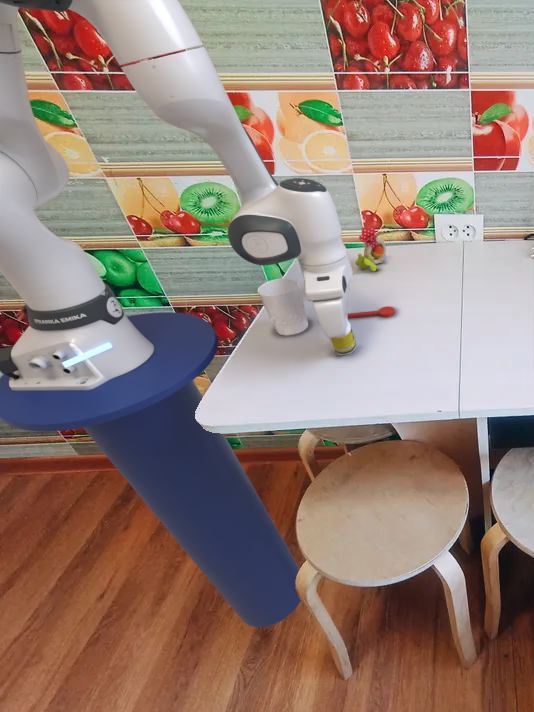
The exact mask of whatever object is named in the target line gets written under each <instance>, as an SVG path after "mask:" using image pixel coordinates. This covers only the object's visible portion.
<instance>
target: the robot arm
mask: <svg viewBox="0 0 534 712" xmlns="http://www.w3.org/2000/svg"><path fill="white" fill-rule="evenodd" d="M20 8H22V9H28V10H29V9H30V10H41V11H49V12H56V13H65V12H67V11H68V10H70V11H72V12H74V13H76V14H78V15H80V16H81V17H83V18H84V19H85V20H86V21H88V22H89V23H90V24H91V25H92V27H94V28H95V30H96V31H97V32H98V34H99V35H100V36H101V38H102V40H103V41H104V42H105V44H106V45H107V47H108V49H109V50H110V52H111V54H112V55H113V58H114V59H115V60H116V62H117V64H118V65H119V66H121V67H120V68H121V69H122V72H123V74H124V75H125V77H126V78H127V80H128V81H129V83H130V84H131V86H132V88H133V89H134V91H135V92H136V93H137V94H138V96H139V98H141V100H142V101H143V102H144V103H145V105H146V106H147V107H148V108H149V109H150V110H151V112H152V113H153V114H154V115H155V116H156V117H157V118H158V119H160V120H162V121H163V122H165V123H167V124H169V125H171V126H173V127H175V128H178V129H181V130H184V131H187V132H190V133H192V134H194V135H195V136H197V137H198V138H200V139H201V140H202V141H204V142H205V143H206V144H207V145H208V146H209V147H210V148H211V150H212V151H213V152H214V153H215V155H216V156H217V158H218V160H219V161H220V163H221V165H222V166H223V168H224V169H225V171H226V172H227V174H228V175H229V177H230V179H231V180H232V182H233V183H234V185H235V187H236V188H237V189H238V192H239V195H240V200H241V201H240V202H241V206H240V208H239V209H238V210H237V211H236V213H235V215H234V216H233V217H232V219H231V221H230V223H229V225H228V226H227V227H228V228H227V240H228V242H229V244H230V246H231V248H232V249H233V251H234V252H235V253H236V254H237V255H238V256H239V257H241V258H242V259H243V260H245V261H246V262H249V263H251V264H253V265H256V266H262V267H263V266H273V265H276V264H281V263H284V262H287V261H291V260H294V259H297V261H298V264H299V267H300V270H301V274H302V278H303V282H304V294H305V296H306V300H307V301H309V302H312V307H313V310H314V313H315V315H316V318H317V320H318V323H319V326H320V327H321V330H322V332H323V334H324V335H325V337H327V338H328V339H329V338H336V337H343V336H345V335H346V330H347V322H346V317H347V320H348V321H349V318H348V314H349V309H350V308H349V307H350V295H351V285H350V281H351V280H352V279H353V278H354V271H353V267H352V264H351V260H350V255H349V252H348V249H347V247H346V245H345V244H344V241H343V237H342V235H343V234H342V233H343V229H342V225H341V220H340V218H339V215H338V212H337V209H336V208H337V207H336V205H335V203H334V200H333V198H332V195H331V193H330V192H329V190H328V189H327V187H326V186H325V185H323V184H322V183H320V182H318V181H316V180H314V179H309V178H304V177H303V178H302V177H293V178H287V179H284V180H281V181H280V182H279V183H278V181H277V180H276V179H275V178H274V176H273V174H272V173H271V171H270V169H269V168H268V166H267V164H266V163H265V161H264V159H263V158H262V156H261V154H260V151H259V150H258V149H257V147H256V145H255V143H254V142H253V139H252V138H251V136H250V135H249V133H248V131H247V130H246V128H245V126H244V125H243V123H242V121H241V118H240V117H239V116H238V114H237V112H236V109H235V108H234V106H233V103H232V101H231V99H230V97H229V95H228V93H227V91H226V89H225V87H224V84H223V82H222V80H221V78H220V76H219V73H218V72H217V70H216V66H215V65H214V63H213V61H212V58H211V57H210V55H209V53H208V51H207V49H206V47H205V46H204V43H203V42H202V41H203V40H202V39H201V38H200V36H199V34H198V32H197V30H196V28H195V26H194V25H193V23H192V21H191V20H190V18H189V16H188V15H187V13H186V11H185V10H184V8H183V6H182V5H181V3H180V1H179V0H0V274H2V275H3V276H4V278H5V279H6V280H7V281H8V283H9V284H10V285H11V286H12V288H13V289H14V290H15V291H16V293H17V295H18V296H19V297H20V298H21V299H22V300H23V302H24V303H25V304H24V305H23V306H22V307H21V310H19V311H18V312H17V313H16V314H14V317H18V319H17V321H22V320H23V319H24V318H25V317H27V320H28V325H29V326H28V327H26V329H25V330H24V332H23V333H22V335H21V336H20V337H19V338H18V339H17V341H16V342H15V344H14V345H13V346H9V347H3V348H0V372H1V374H2V375H3V374H5V375H7V376H9V377H11V378H10V380H9V386H10V388H11V389H12V390H13V391H47V390H91V389H94V388H96V387H98V386H100V385H101V384H103V383H105V382H106V381H108V380H110V379H113V378H115V377H118V376H120V375H123V374H125V373H127V372H129V371H131V370H133V369H135V368H137V367H138V366H140V365H141V364H143V363H144V362H145V361H147V360H148V359H149V358H150V356H151V355H152V354H153V352H154V345H153V344H152V343H151V342H150V341H149V340H147V339H146V338H145V337H144V336H143V335H142V334H141V333H140V332H139V331H138V330H137V329H136V328H135V326H134V325H133V324H132V323H131V322H130V320H129V319H128V318H127V315H126V314H125V312H124V310H123V306H122V305H121V303H120V301H119V300H118V298H117V296H116V294H115V293H114V292H113V290H112V288H111V287H110V286H109V284H107V283H106V282H104V281H103V280H102V277H101V276H100V275H99V273H98V271H97V270H96V267H95V266H94V265H93V263H92V261H91V260H90V259H89V256H88V255H87V253H86V252H85V250H84V249H83V248H82V246H80V245H79V243H77V242H75V241H74V240H71V239H69V238H66V237H62V236H58V235H56V234H55V233H53V232H52V231H51V230H50V229H49V228H48V227H47V226H45V224H43V222H42V221H41V220H40V219H39V218H38V216H37V214H36V212H35V211H36V210H38V209H40V208H42V207H43V206H45V205H47V204H48V203H51V202H53V201H54V200H56V199H57V197H58V196H59V195H60V194H61V193H62V191H63V190H64V189H65V187H66V186H67V185H68V183H69V181H70V176H71V175H70V169H69V165H68V163H67V161H66V160H65V158H64V156H63V155H62V154H61V153H60V152H59V150H58V149H56V147H54V146H53V145H52V144H51V143H49V142H48V141H47V140H46V139H45V137H44V135H43V133H42V131H41V129H40V127H39V125H38V122H37V120H36V118H35V115H34V112H33V109H32V105H31V101H30V96H29V89H28V84H27V77H26V72H25V67H24V66H25V65H24V60H23V52H22V45H21V40H20V33H19V29H18V28H19V27H18V12H19V10H20ZM136 62H137V63H136ZM14 371H15V372H14ZM11 372H14V373H11Z"/></svg>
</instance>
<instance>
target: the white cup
mask: <svg viewBox="0 0 534 712" xmlns="http://www.w3.org/2000/svg"><path fill="white" fill-rule="evenodd" d="M257 293H258V295H259V298H260V300H261V302H262V304H263V307H264V309H265V311H266V313H267V315H268V317H269V319H270V321H271V323H272V324H273V327H274V330H275V331H276V333H278V334H279V335H281V336H295V335H298V334H300V333H302V332H304V331H306V329H307V328H308V327H309V321H308V317H307V311H306V307H305V303H304V300H303V296H302V292H301V288H300V285H299V282H298V280H297V279H294V278H289V277H281V278H276V279H270V280H267V281H266V282H263V283H262V284H261V285H260V286H259V287H258V288H257Z"/></svg>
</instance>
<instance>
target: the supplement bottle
mask: <svg viewBox="0 0 534 712" xmlns="http://www.w3.org/2000/svg"><path fill="white" fill-rule="evenodd" d="M346 322H347V330H346V335H345V336H343V337H336V338H328V340H329V344H330V346H331V349H332V351H333V352H334V353H335V354H336V355H339V356H348V355H350V354H352V353H353V352H354V351H355V350H356V348H357V342H356V338H355V335H354V332H353V327H352V325H351V323H350V321H349V319H348V320H347V317H346Z"/></svg>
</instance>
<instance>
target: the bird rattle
mask: <svg viewBox="0 0 534 712" xmlns="http://www.w3.org/2000/svg"><path fill="white" fill-rule="evenodd" d="M358 239H359V241H360V242H362V243H364V245H365V246H364V250H363V254H362V253H358V255H357V256H358V258H357V259H356V261H355V263H354V264H355V265H356V266H358V267H361V268H362V269H363V270H367V269H368V268H370V270H371V271H372V272H376V271H379V270H380V269H379V267H378V266H377V265H378V264H382V263H383V260H384V258H385V256H386V252H387V245H386V243H385V241H384V240H383V239H382V238H380V237H379V233H376V228H374V227H370V228H367V227H361V234H360V235H359V236H358Z"/></svg>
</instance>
